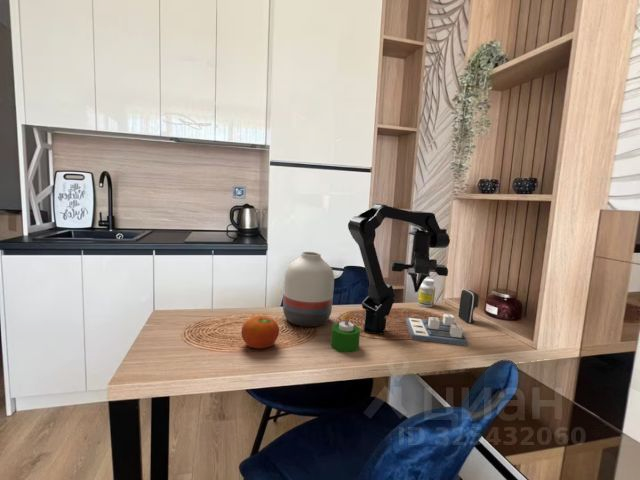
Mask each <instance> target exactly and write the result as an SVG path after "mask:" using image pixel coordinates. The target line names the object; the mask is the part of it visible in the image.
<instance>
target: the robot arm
mask: <svg viewBox="0 0 640 480" xmlns="http://www.w3.org/2000/svg"><path fill="white" fill-rule="evenodd" d="M385 219H391V220H396V221H401V222H405V223H407V224H408V225H410V226H412V227H413V229H411V230H410V231H409V232H408V235H411V236H413V239H412V247H411V255H410V256H411V259H410V264H409V263H404V261H403V260H394V259H393V260H391V262H390V269H391V271H392V272H399V273H401V272H403V271H404V270H406V273H407V274H408V275H409V276H410V278H411V281H412V285H413V291H414V293H418V292H419V291H420V286H421V284H423V281H424V279H425V278H428V277H430V276H431V274H430V273H436V274H437V275H438V276H443V277H448V274H449V269H448V267H447V266H445V264H438V260H437V259H433V258H432V259H430V250H431V249H444V248H447V247H448V246H449V244H451V243H450V242H451V239H450V236H449V234H448V233H447V229H446V228H440V226H439V223H438V221H437V218H436V214H435V213H433V212H429V211H420V210H404V209H401V208H397V207H392V206H389V205H386V204H381V203H376V204H374V205H373V206H371V207H370V208H368V209H366V210H365V211H363V212H361V213H359V214H357V215H356V216H353V217H351V218H350V220H349V222H348V224H347V228H348V231H349V233H350V235H351V238H352V239H353V240H354V242H355V243H356V244H357V245H358V249H359V251H360V256H361V258H362V263H363V266H364V269H365V272H366V276H367V278H368V279H367V280H368V282H369V284H368V289H367V296H366V298H364V300H363V301H362V302H361V307H362V309H364V310H365V312H364V314H365V315H364V324H363V332H364V333H370V334H379V335H383V334H384V335H385V331H386V327H387V325H386V324H387V317H388V316H389V315H390V313H391V310H392V308H393V305H394V304H395V298H396V295H395V294H394V287H393V286H392V285H391V284H388V283H387V282H385V280H384V279H385V278H384V276H383V273H382V269H381V265H380V262H379V261H380V260H379V258H378V254H377V250H376V247H375V238H376V235H377V234H376V230H377V229H378V228H379V227H380V226H381V225H382V223H383V221H384V220H385ZM430 248H431V249H430Z"/></svg>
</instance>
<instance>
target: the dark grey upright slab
mask: <svg viewBox="0 0 640 480" xmlns="http://www.w3.org/2000/svg"><path fill="white" fill-rule="evenodd" d="M479 299H480V297H479V294H478V293H477V292H475V291H474V290H470V289H463V290H461V293H460V299H459V308H458V309H459V311H458V317H459V319H461V320H462V321H464V322H466V323H468V324H472V323H474V322H475V320H474V316H473V315H474V311H475V309H476V308H478V307H479Z"/></svg>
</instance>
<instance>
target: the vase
mask: <svg viewBox="0 0 640 480" xmlns="http://www.w3.org/2000/svg"><path fill="white" fill-rule="evenodd" d="M334 284H335V275H334V271H333V268H332V267H331V265H330V264H328V262H326V261H325V260H324V259H323V258H322V256H321V253H320V252H318V251H317V252H316V251H303V252H301V254H300V256H299V257H298V258H296V259H295V260H293V261H292V262H291V263H289V265H288V266H287V267H286V270H285V274H284V279H283V295H282V296H283V297H282V298H283V299H282V309H283V311H282V312H283V315H284V317H285V319H286V320H287V321H288V322H289V323H291V324H293V325H295V326H300V327H306V328H307V327H318V326H321V325H324V324H325V323H326V322H328V321H329V319H330V317H331V314H332V310H333V309H332V308H333V302H334V300H333V298H334V288H335V285H334Z"/></svg>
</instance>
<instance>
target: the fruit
mask: <svg viewBox="0 0 640 480" xmlns="http://www.w3.org/2000/svg"><path fill="white" fill-rule="evenodd" d="M279 328H280V327H279V325H278V323H277V321H275V320H274V318H272V317H270V316H266V315H256V316H255V315H254V316H252V317H250V318H249V319H247V320H246V321H245V322H244V323H243V325H242V327H241V338H242V340H243V342H244V343H245V344H246V345H247V346H248V347H250V348H253V349H267V348H269V347H272V346H273V345H274V343H275V342H276V341H277V339H278V337H279V335H280V329H279Z"/></svg>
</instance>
